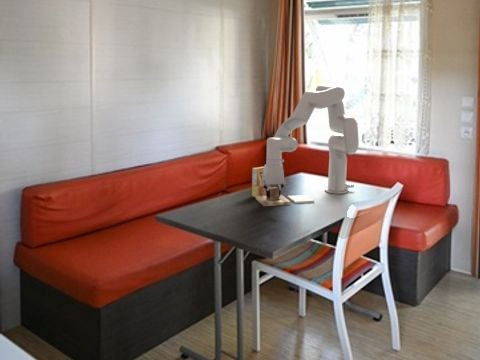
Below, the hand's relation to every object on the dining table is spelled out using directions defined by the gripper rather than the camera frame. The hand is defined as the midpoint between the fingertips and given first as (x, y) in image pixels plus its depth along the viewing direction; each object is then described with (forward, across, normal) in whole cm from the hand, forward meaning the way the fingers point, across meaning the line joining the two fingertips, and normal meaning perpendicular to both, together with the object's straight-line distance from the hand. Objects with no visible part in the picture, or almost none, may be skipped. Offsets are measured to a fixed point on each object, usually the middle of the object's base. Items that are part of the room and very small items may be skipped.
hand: (273, 197), depth 276 cm
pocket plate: (+2, 0, 0) cm, 2 cm away
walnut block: (+2, 0, 0) cm, 2 cm away
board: (+3, -15, 0) cm, 15 cm away
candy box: (+3, +3, -13) cm, 13 cm away
